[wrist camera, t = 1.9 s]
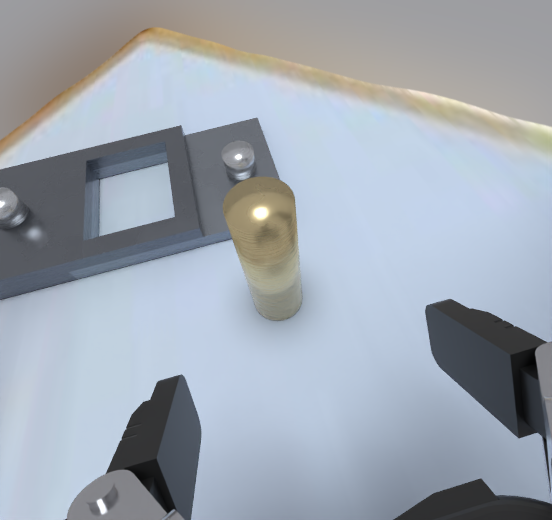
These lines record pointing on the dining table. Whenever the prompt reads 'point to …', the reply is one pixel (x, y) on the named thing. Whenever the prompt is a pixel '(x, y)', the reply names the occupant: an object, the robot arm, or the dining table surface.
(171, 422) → the robot arm
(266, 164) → the chain end lower
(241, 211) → the pin
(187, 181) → the chain end upper
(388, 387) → the dining table surface
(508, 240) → the dining table surface
